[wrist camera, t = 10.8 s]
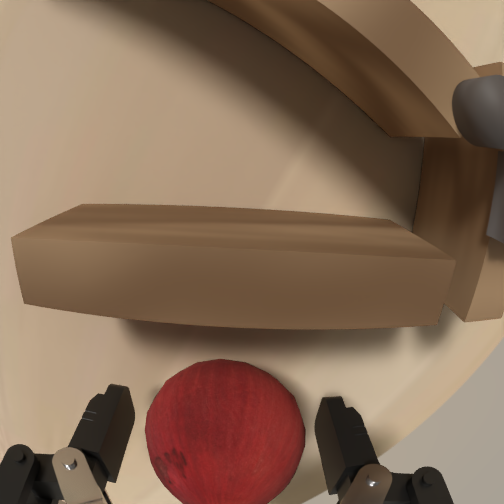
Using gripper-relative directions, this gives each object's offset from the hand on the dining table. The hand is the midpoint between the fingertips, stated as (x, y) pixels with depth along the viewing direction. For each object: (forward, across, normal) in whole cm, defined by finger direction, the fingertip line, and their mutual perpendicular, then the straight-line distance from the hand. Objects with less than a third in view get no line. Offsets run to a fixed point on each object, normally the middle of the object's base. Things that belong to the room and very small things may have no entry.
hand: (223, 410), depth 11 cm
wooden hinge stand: (+2, -2, -10) cm, 10 cm away
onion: (+3, 0, 0) cm, 3 cm away
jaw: (+2, +1, -17) cm, 17 cm away
